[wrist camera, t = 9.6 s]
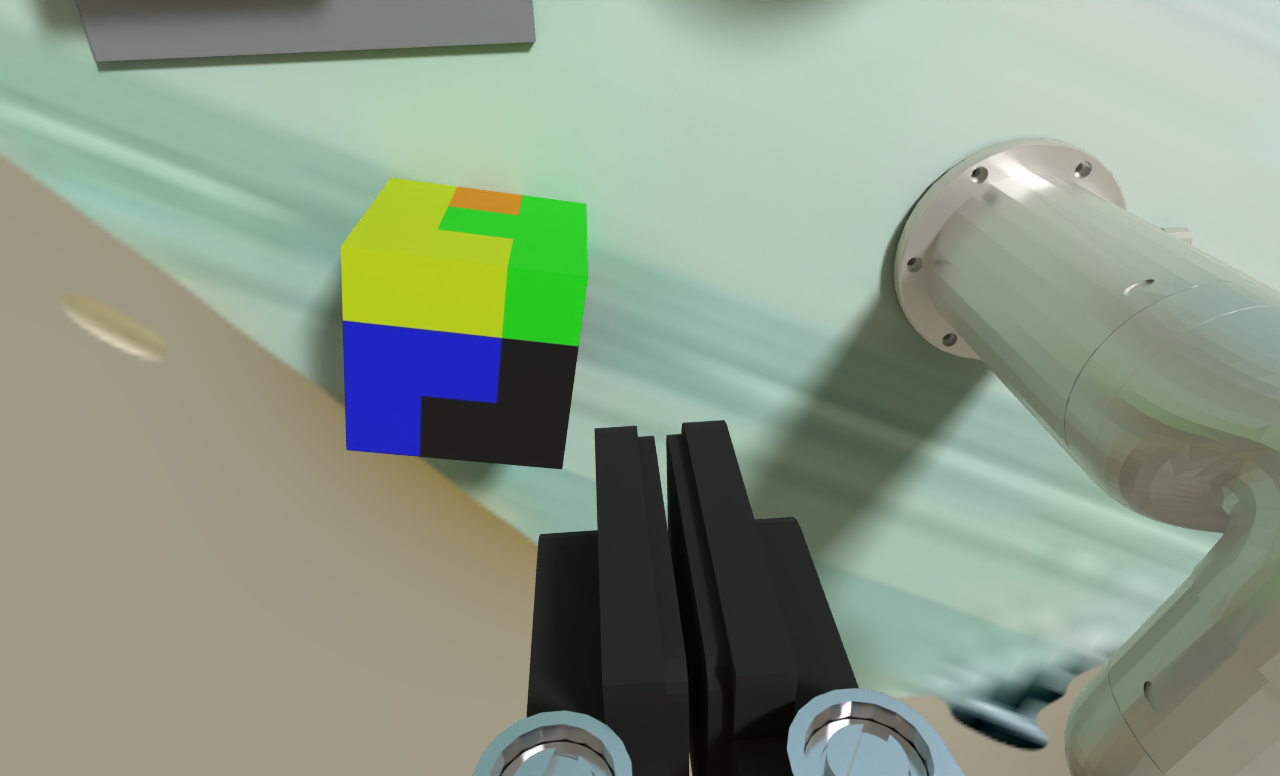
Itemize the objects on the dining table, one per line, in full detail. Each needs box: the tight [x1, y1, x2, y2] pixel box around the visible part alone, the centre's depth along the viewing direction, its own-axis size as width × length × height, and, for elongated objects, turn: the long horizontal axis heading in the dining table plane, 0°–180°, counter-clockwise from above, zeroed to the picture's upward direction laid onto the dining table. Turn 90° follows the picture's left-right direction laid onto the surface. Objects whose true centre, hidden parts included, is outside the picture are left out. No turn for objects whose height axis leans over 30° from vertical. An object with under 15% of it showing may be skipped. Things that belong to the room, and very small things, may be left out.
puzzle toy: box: [341, 178, 588, 469], centre depth 40 cm, size 10×10×10 cm
